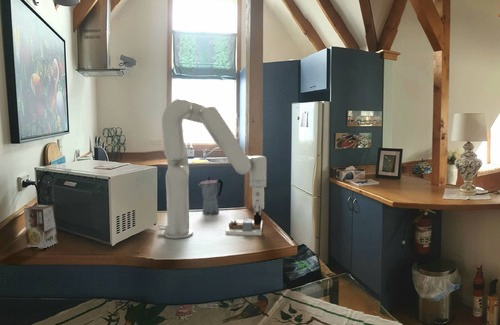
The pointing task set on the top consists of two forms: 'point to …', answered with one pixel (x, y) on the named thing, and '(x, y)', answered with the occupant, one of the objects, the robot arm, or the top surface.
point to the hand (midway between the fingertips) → (257, 221)
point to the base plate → (239, 231)
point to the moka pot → (210, 195)
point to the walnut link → (239, 225)
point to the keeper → (245, 224)
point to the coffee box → (40, 226)
